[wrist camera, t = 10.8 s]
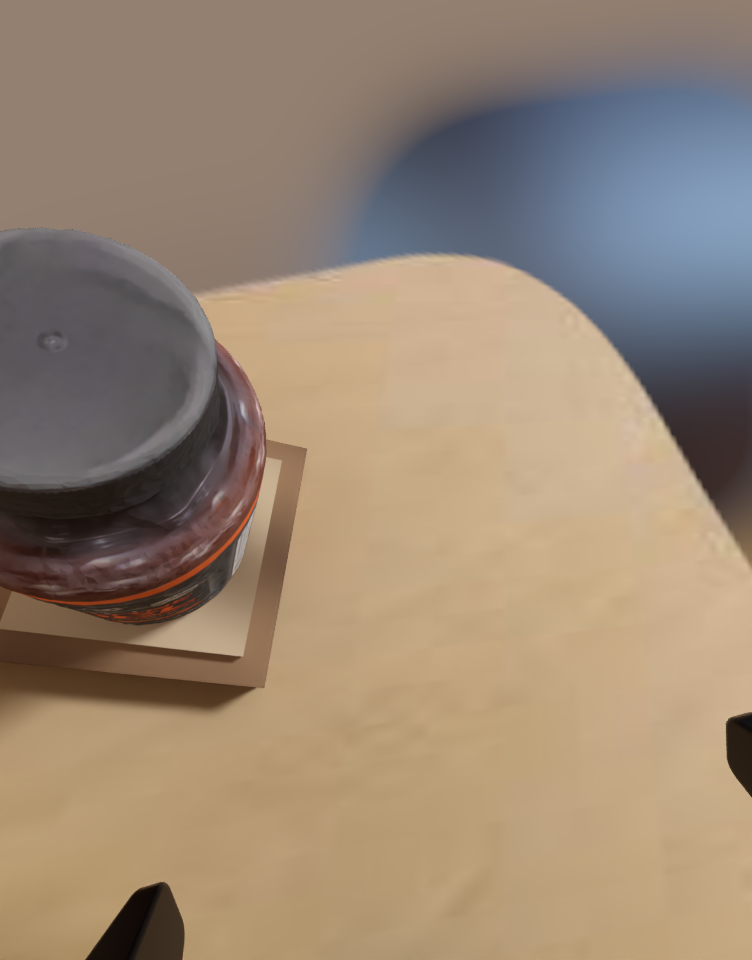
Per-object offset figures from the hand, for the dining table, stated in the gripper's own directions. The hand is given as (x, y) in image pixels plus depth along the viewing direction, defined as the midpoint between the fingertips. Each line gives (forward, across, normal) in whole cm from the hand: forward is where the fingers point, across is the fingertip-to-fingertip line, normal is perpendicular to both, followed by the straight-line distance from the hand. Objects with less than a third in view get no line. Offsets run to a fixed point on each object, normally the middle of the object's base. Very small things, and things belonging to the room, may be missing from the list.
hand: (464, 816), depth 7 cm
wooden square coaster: (+12, +8, -2) cm, 15 cm away
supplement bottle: (+11, +7, -3) cm, 13 cm away
